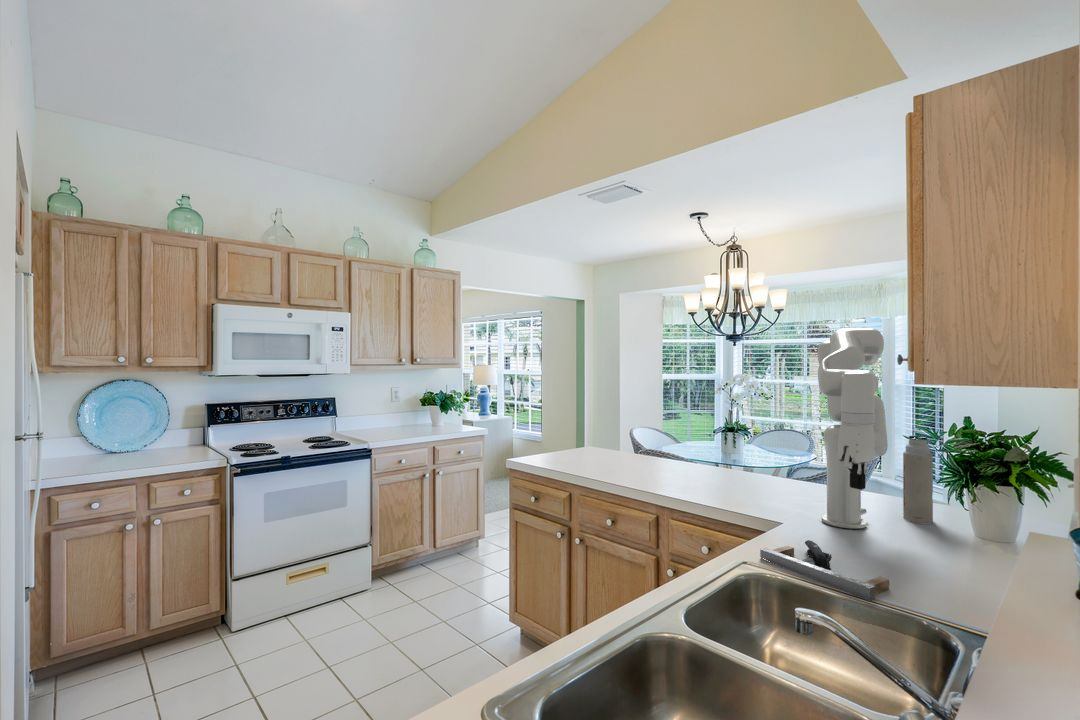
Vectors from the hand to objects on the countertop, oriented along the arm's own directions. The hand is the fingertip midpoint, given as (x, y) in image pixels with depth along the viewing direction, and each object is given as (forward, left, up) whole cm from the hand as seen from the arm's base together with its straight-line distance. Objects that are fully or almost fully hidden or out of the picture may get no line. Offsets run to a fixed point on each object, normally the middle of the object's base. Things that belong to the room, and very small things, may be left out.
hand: (857, 488), depth 140 cm
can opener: (+10, -5, -20) cm, 23 cm away
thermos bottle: (-54, -10, -20) cm, 58 cm away
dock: (+15, 0, -20) cm, 25 cm away
